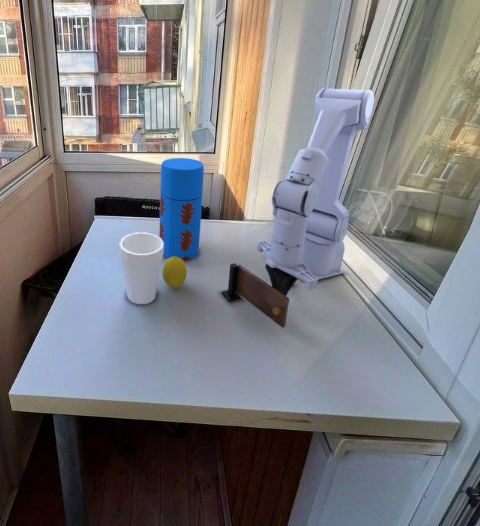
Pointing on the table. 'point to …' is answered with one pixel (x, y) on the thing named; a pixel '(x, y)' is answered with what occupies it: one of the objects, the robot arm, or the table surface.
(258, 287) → the door
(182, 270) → the lemon
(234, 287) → the door frame
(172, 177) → the thermos
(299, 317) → the table surface
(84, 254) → the table surface
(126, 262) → the foam cup
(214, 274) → the table surface
